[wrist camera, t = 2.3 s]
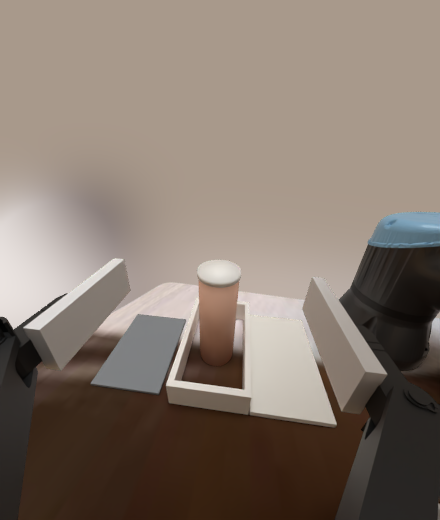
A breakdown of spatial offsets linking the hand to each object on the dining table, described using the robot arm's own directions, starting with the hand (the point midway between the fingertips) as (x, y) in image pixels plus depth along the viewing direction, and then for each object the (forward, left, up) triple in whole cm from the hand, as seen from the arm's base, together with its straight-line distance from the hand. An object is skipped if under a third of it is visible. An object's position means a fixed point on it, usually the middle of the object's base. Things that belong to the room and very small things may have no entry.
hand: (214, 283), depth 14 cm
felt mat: (+13, -10, -22) cm, 27 cm away
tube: (+1, -11, -22) cm, 24 cm away
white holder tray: (-5, -11, -22) cm, 25 cm away
